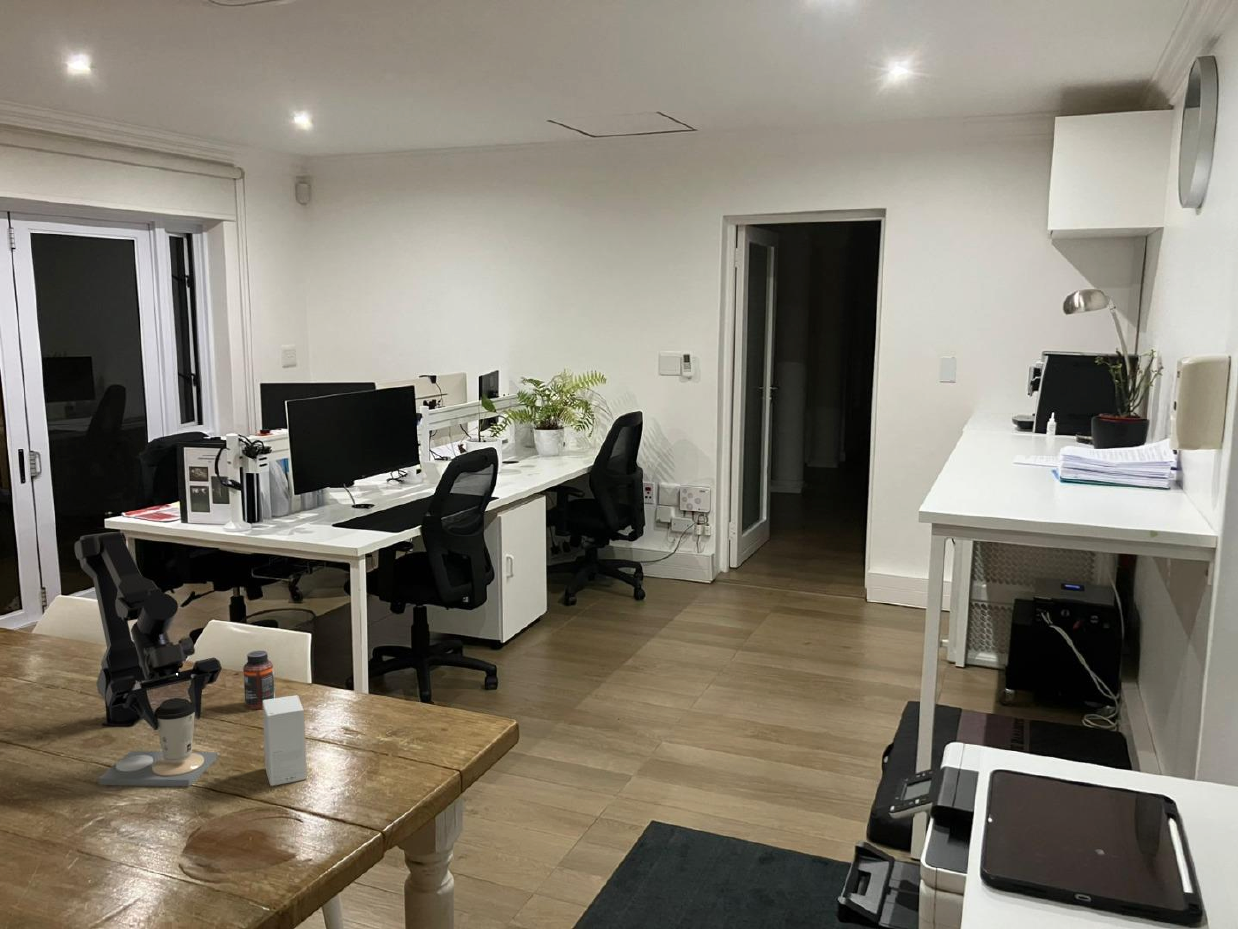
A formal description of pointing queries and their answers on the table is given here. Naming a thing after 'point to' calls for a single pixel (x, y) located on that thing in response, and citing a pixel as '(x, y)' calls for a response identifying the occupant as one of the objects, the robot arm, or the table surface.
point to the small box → (284, 740)
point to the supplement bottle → (258, 679)
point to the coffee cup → (176, 728)
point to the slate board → (157, 769)
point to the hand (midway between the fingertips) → (178, 723)
